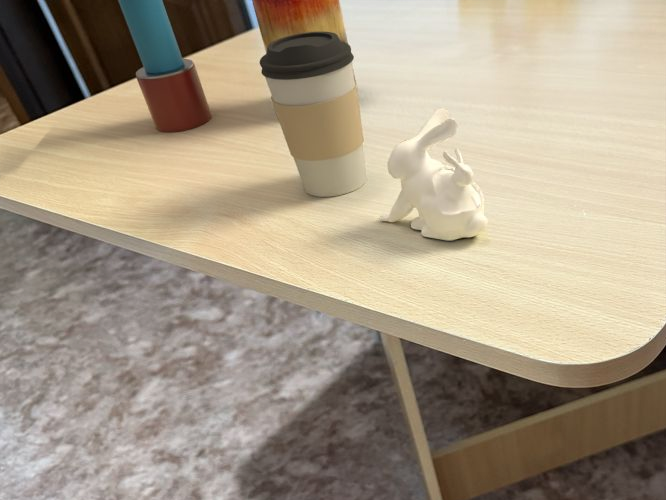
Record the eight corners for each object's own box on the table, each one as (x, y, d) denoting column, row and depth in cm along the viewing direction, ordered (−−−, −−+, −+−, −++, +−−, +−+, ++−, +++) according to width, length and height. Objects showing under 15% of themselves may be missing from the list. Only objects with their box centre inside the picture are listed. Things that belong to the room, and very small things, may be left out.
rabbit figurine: (375, 220, 67) (355, 123, 61) (429, 190, 71) (415, 96, 65) (464, 256, 60) (452, 150, 54) (519, 220, 64) (513, 118, 58)
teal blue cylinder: (142, 76, 89) (100, -33, 81) (148, 65, 93) (109, -40, 85) (181, 69, 90) (143, -39, 82) (186, 59, 93) (150, -46, 86)
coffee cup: (300, 169, 79) (262, 30, 69) (378, 160, 79) (351, 19, 69) (289, 206, 72) (245, 56, 62) (375, 195, 72) (344, 44, 62)
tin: (152, 136, 93) (129, 80, 88) (160, 116, 98) (140, 64, 94) (209, 126, 93) (190, 71, 89) (214, 107, 99) (196, 55, 95)
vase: (366, 106, 93) (333, -68, 80) (287, 124, 91) (240, -52, 78) (349, 84, 101) (316, -77, 88) (276, 100, 99) (232, -63, 86)
